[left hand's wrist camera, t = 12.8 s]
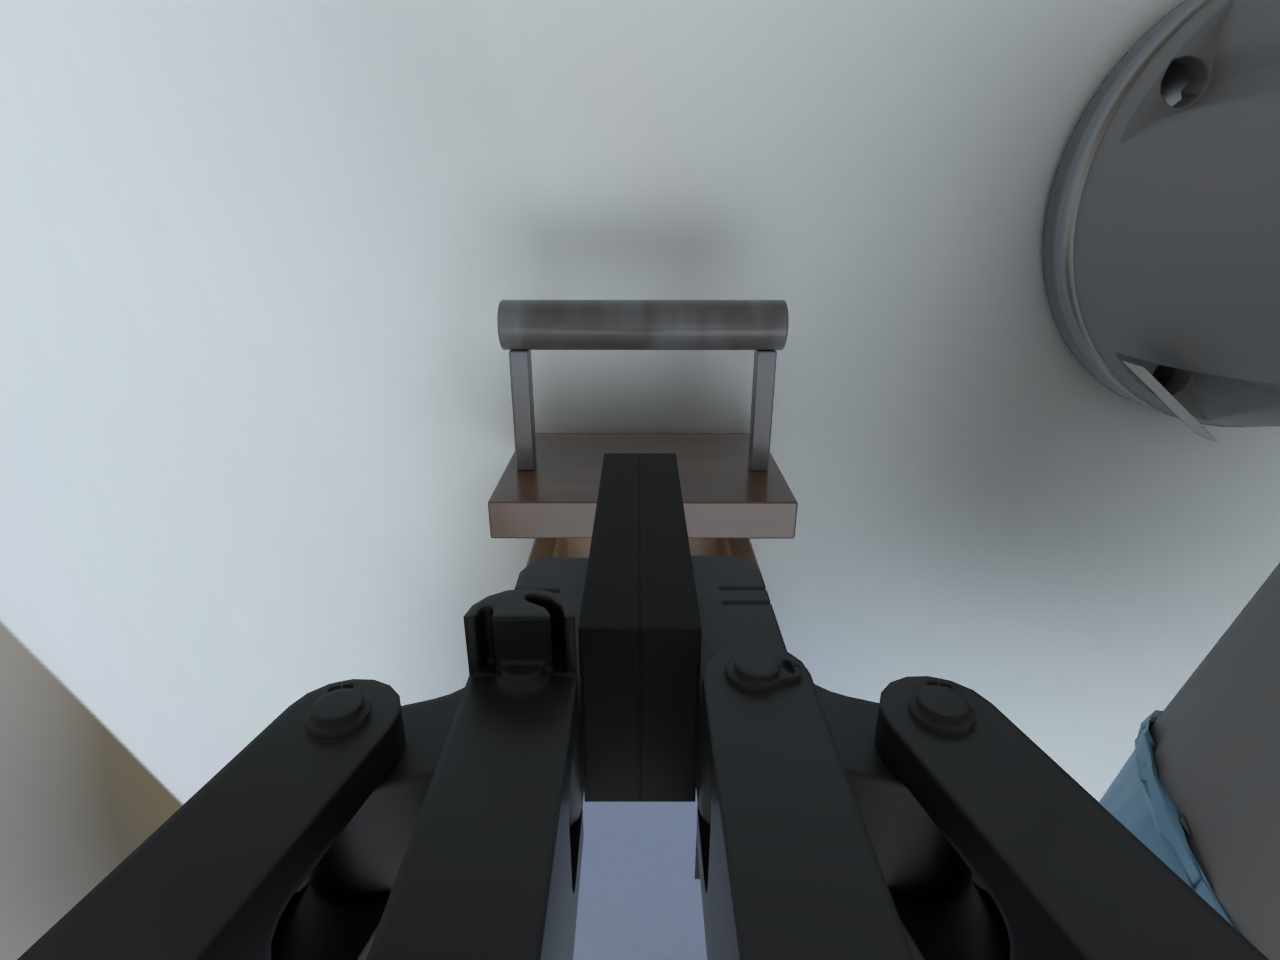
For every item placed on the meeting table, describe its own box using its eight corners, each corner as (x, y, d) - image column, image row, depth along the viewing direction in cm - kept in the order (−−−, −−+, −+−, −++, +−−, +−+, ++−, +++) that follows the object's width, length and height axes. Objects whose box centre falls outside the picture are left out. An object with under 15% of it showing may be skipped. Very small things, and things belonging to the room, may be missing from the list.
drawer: (515, 287, 25) (471, 312, 18) (769, 287, 25) (815, 313, 18) (548, 824, 34) (526, 968, 28) (734, 825, 34) (756, 968, 28)
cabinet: (525, 615, 31) (484, 762, 23) (757, 615, 31) (800, 762, 23) (547, 946, 39) (522, 1146, 30) (733, 946, 39) (759, 1146, 30)
